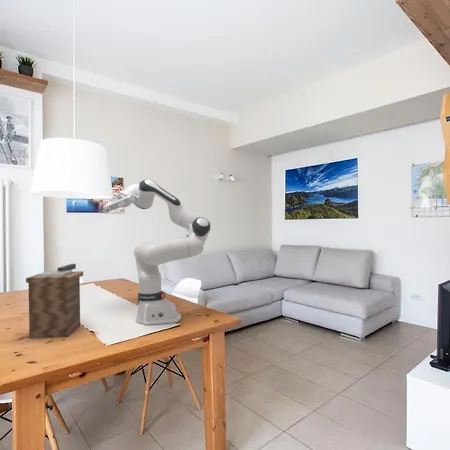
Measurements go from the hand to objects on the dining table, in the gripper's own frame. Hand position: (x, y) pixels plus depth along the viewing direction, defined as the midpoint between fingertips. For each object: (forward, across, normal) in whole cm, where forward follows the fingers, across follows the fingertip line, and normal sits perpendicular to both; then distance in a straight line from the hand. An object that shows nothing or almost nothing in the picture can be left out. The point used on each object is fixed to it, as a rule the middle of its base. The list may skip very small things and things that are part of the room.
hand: (111, 209), depth 170 cm
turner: (+36, +14, -12) cm, 41 cm away
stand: (+54, +18, -32) cm, 65 cm away
